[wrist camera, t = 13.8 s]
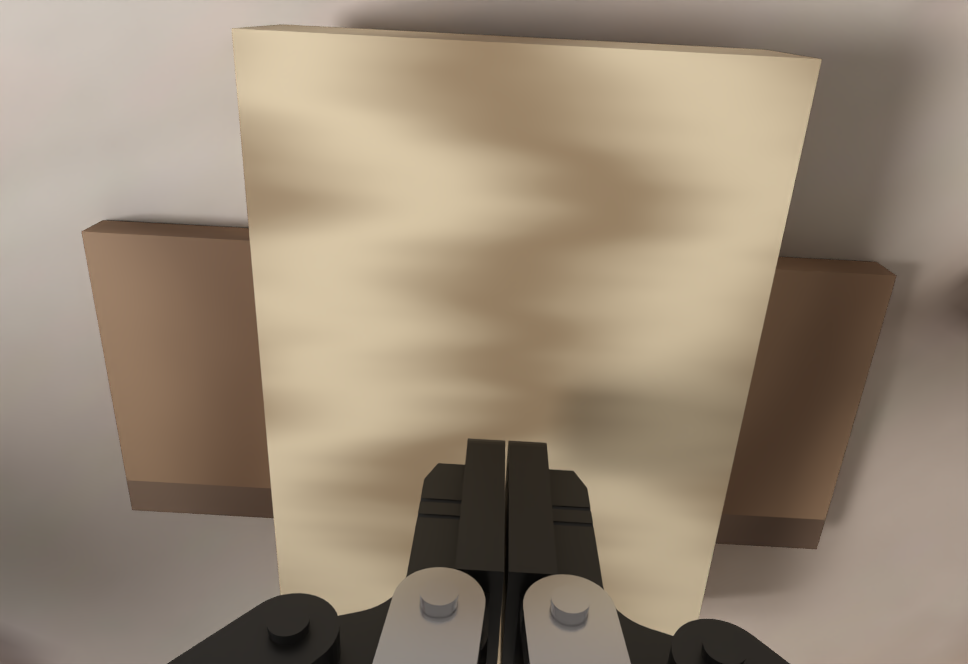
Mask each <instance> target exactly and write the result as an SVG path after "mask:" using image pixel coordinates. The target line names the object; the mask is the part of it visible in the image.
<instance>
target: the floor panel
mask: <svg viewBox="0 0 968 664" xmlns="http://www.w3.org/2000/svg"><path fill="white" fill-rule="evenodd" d="M82 237H83V243H84V248H85V254H86V259H87V265H88V270H89V276H90V281H91V287H92V292H93V298H94V303H95V309H96V314H97V320H98V325H99V330H100V336H101V341H102V347H103V352H104V358H105V363H106V369H107V374H108V380H109V385H110V391H111V396H112V402H113V407H114V413H115V418H116V424H117V429H118V435H119V440H120V446H121V451H122V457H123V462H124V468H125V473H126V479H127V484H128V490H129V495H130V501H131V506H132V510H140V511H157V512H175V513H192V514H210V515H227V516H245V517H262V518H274V516H273V504H272V492H271V481H270V469H269V457H268V446H267V434H266V423H265V411H264V399H263V388H262V376H261V365H260V353H259V341H258V330H257V318H256V306H255V295H254V283H253V272H252V260H251V248H250V237H249V228H237V227H219V226H200V225H182V224H163V223H144V222H126V221H107V220H103V221H101V222H99V223H97V224H95V225H93V226H91V227H89V228H87V229H86V230H84V231H82ZM895 279H896V275H895V274H893V273H892V272H890V271H889V270H888V269H886V268H885V267H883V266H882V265H880V264H879V263H877V262H868V261H849V260H831V259H812V258H793V257H778V261H777V265H776V270H775V274H774V279H773V283H772V288H771V292H770V297H769V301H768V306H767V310H766V315H765V320H764V324H763V329H762V333H761V338H760V342H759V347H758V351H757V356H756V360H755V365H754V370H753V374H752V379H751V383H750V388H749V392H748V397H747V401H746V406H745V410H744V415H743V419H742V424H741V429H740V433H739V438H738V442H737V447H736V451H735V456H734V460H733V465H732V469H731V474H730V478H729V483H728V488H727V492H726V497H725V501H724V506H723V510H722V515H721V519H720V524H719V528H718V533H717V537H716V542H715V543H718V544H736V545H753V546H771V547H788V548H806V549H817V546H818V543H819V540H820V536H821V533H822V529H823V526H824V522H825V519H826V516H827V512H828V509H829V505H830V502H831V498H832V495H833V492H834V488H835V485H836V481H837V478H838V474H839V471H840V468H841V464H842V461H843V457H844V454H845V451H846V447H847V444H848V440H849V437H850V433H851V430H852V427H853V423H854V420H855V416H856V413H857V409H858V406H859V403H860V399H861V396H862V392H863V389H864V385H865V382H866V379H867V375H868V372H869V368H870V365H871V362H872V358H873V355H874V351H875V348H876V344H877V341H878V338H879V334H880V331H881V327H882V324H883V320H884V317H885V314H886V310H887V307H888V303H889V300H890V296H891V293H892V290H893V286H894V283H895Z"/></svg>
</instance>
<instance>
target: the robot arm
mask: <svg viewBox="0 0 968 664" xmlns="http://www.w3.org/2000/svg"><path fill="white" fill-rule="evenodd" d="M590 508H591V507H590V501H589V495H588V489H587V487H586V486H585V484H584V483H583V482H582V481H581V479H580V478H579V477H578V476H577V474H576V473H575V472H574V471H570V470H553V469H549V463H548V451H547V443H545V442H527V441H508V451H507V466H506V480H505V440H489V439H472V438H468V440H467V450H466V460H465V465H463V464H445V463H438V464H437V465H436V466H435V467H434V468H433V470H432V471H431V472H430V473H429V474H428V475H427V476H426V477H425V478H424V482H423V488H422V493H421V501H420V504H419V510H418V517H417V521H416V526H415V532H414V537H413V543H412V548H411V554H410V559H409V565H408V570H407V575H406V578H405V579H403V580H402V581H401V582H400V583H399V585H398V586H397V588H396V589H395V592H394V594H393V596H392V597H391V598H390V599H388V600H387V601H386V602H384V603H382V604H380V605H378V606H376V607H373V608H370V609H367V610H363V611H359V612H354V613H349V614H344V615H339V616H338V615H337V612H336V611H335V609H334V608H333V606H332V605H331V604H330V603H329V602H327V601H326V600H324V599H322V598H320V597H318V596H315V595H311V594H305V593H291V594H284V595H280V596H277V597H274V598H271V599H269V600H267V601H265V602H263V603H261V604H259V605H258V606H256V607H255V608H253V609H252V610H250V611H249V612H247V613H245V614H244V615H242V616H241V617H239V618H238V619H236V620H235V621H233V622H231V623H230V624H228V625H227V626H225V627H224V628H222V629H221V630H219V631H217V632H216V633H214V634H213V635H211V636H210V637H208V638H206V639H205V640H203V641H202V642H200V643H199V644H197V645H196V646H194V647H192V648H191V649H189V650H188V651H186V652H185V653H183V654H182V655H180V656H178V657H177V658H175V659H174V660H172V661H171V662H169V663H168V664H497V661H498V647H499V634H500V620H501V646H500V664H789V663H788V662H787V661H786V660H784V659H783V658H782V657H780V656H779V655H778V654H776V653H775V652H774V651H772V650H771V649H770V648H769V647H767V646H766V645H765V644H763V643H762V642H761V641H759V640H758V639H757V638H755V637H754V636H753V635H751V634H750V633H748V632H747V631H746V630H744V629H742V628H740V627H738V626H736V625H733V624H731V623H728V622H725V621H721V620H715V619H698V620H693V621H690V622H688V623H686V624H684V625H682V626H681V627H680V628H679V629H678V630H677V631H676V632H675V634H674V636H672V635H669V634H666V633H663V632H660V631H657V630H653V629H650V628H647V627H645V626H642V625H640V624H638V623H636V622H634V621H632V620H630V619H629V618H627V617H626V616H624V615H623V614H622V613H620V612H619V611H618V610H617V609H616V607H615V605H614V602H613V600H612V599H611V597H610V596H609V595H608V593H607V592H606V591H605V590H604V587H603V582H602V576H601V570H600V563H599V557H598V551H597V545H596V538H595V532H594V527H593V520H592V513H591V511H590Z"/></svg>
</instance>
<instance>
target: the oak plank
mask: <svg viewBox="0 0 968 664" xmlns="http://www.w3.org/2000/svg"><path fill="white" fill-rule="evenodd" d="M232 39H233V51H234V63H235V74H236V86H237V97H238V109H239V121H240V132H241V144H242V156H243V167H244V179H245V190H246V202H247V214H248V225H249V237H250V248H251V260H252V272H253V283H254V295H255V306H256V318H257V330H258V341H259V353H260V365H261V376H262V388H263V399H264V411H265V423H266V434H267V446H268V457H269V469H270V481H271V492H272V504H273V516H274V527H275V539H276V550H277V562H278V574H279V585H280V595H284V594H291V593H305V594H311V595H315V596H318V597H320V598H322V599H324V600H326V601H327V602H329V603H330V604H331V605H332V606H333V608H334V609H335V611H336V612H337V615H338V616H339V615H344V614H349V613H354V612H359V611H363V610H367V609H370V608H373V607H376V606H378V605H380V604H382V603H384V602H386V601H387V600H388V599H390V598H391V597H392V596H393V594H394V592H395V589H396V588H397V586H398V585H399V583H400V582H401V581H402V580H403V579H405V578H406V575H407V570H408V565H409V559H410V554H411V548H412V543H413V537H414V532H415V526H416V521H417V517H418V510H419V504H420V501H421V493H422V488H423V482H424V478H425V477H426V476H427V475H428V474H429V473H430V472H431V471H432V470H433V468H434V467H435V466H436V465H437V464H438V463H445V464H463V465H465V460H466V450H467V440H468V438H472V439H489V440H505V480H506V466H507V451H508V441H527V442H545V443H547V451H548V463H549V469H553V470H570V471H574V472H575V473H576V474H577V476H578V477H579V478H580V479H581V481H582V482H583V483H584V484H585V486H586V487H587V489H588V495H589V501H590V507H591V508H590V511H591V513H592V520H593V527H594V532H595V538H596V545H597V551H598V557H599V563H600V570H601V576H602V582H603V587H604V590H605V591H606V592H607V593H608V595H609V596H610V597H611V599H612V600H613V602H614V605H615V607H616V609H617V610H618V611H619V612H620V613H622V614H623V615H624V616H626V617H627V618H629V619H630V620H632V621H634V622H636V623H638V624H640V625H642V626H645V627H647V628H650V629H653V630H657V631H660V632H663V633H666V634H669V635H672V636H674V634H675V632H676V631H677V630H678V629H679V628H680V627H681V626H682V625H684V624H686V623H688V622H690V621H693V620H698V619H699V615H700V610H701V606H702V601H703V596H704V592H705V587H706V583H707V578H708V574H709V569H710V565H711V560H712V556H713V551H714V547H715V542H716V537H717V533H718V528H719V524H720V519H721V515H722V510H723V506H724V501H725V497H726V492H727V488H728V483H729V478H730V474H731V469H732V465H733V460H734V456H735V451H736V447H737V442H738V438H739V433H740V429H741V424H742V419H743V415H744V410H745V406H746V401H747V397H748V392H749V388H750V383H751V379H752V374H753V370H754V365H755V360H756V356H757V351H758V347H759V342H760V338H761V333H762V329H763V324H764V320H765V315H766V310H767V306H768V301H769V297H770V292H771V288H772V283H773V279H774V274H775V270H776V265H777V261H778V256H779V251H780V247H781V242H782V238H783V233H784V229H785V224H786V220H787V215H788V211H789V206H790V202H791V197H792V192H793V188H794V183H795V179H796V174H797V170H798V165H799V161H800V156H801V152H802V147H803V143H804V138H805V133H806V129H807V124H808V120H809V115H810V111H811V106H812V102H813V97H814V93H815V88H816V84H817V79H818V74H819V70H820V65H821V61H822V59H818V58H812V57H806V56H800V55H794V54H788V53H782V52H776V51H770V50H764V49H744V48H725V47H706V46H686V45H667V44H648V43H628V42H609V41H590V40H571V39H551V38H532V37H513V36H493V35H474V34H455V33H435V32H416V31H397V30H377V29H358V28H339V27H320V26H300V25H269V26H257V27H244V28H232ZM500 646H501V620H500V634H499V647H498V661H497V664H500Z"/></svg>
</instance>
